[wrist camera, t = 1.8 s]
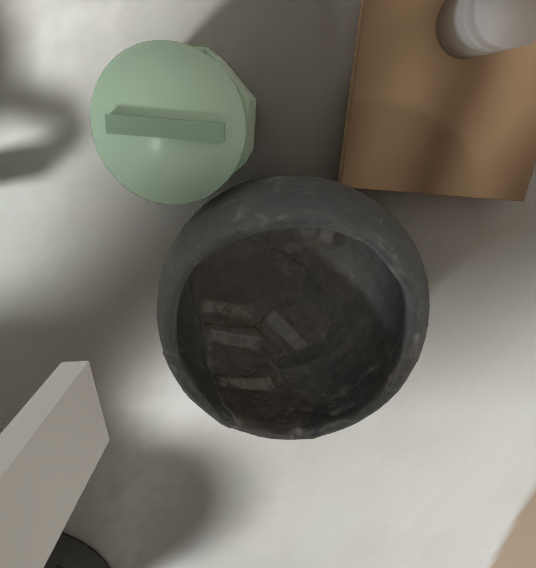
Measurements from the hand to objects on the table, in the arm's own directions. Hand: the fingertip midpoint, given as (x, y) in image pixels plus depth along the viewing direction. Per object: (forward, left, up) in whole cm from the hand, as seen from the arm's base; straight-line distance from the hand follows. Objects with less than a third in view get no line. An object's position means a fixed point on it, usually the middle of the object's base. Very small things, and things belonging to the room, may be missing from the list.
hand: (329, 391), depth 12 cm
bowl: (0, -4, -19) cm, 20 cm away
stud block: (+7, +12, -19) cm, 24 cm away
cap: (-7, +6, -19) cm, 21 cm away
